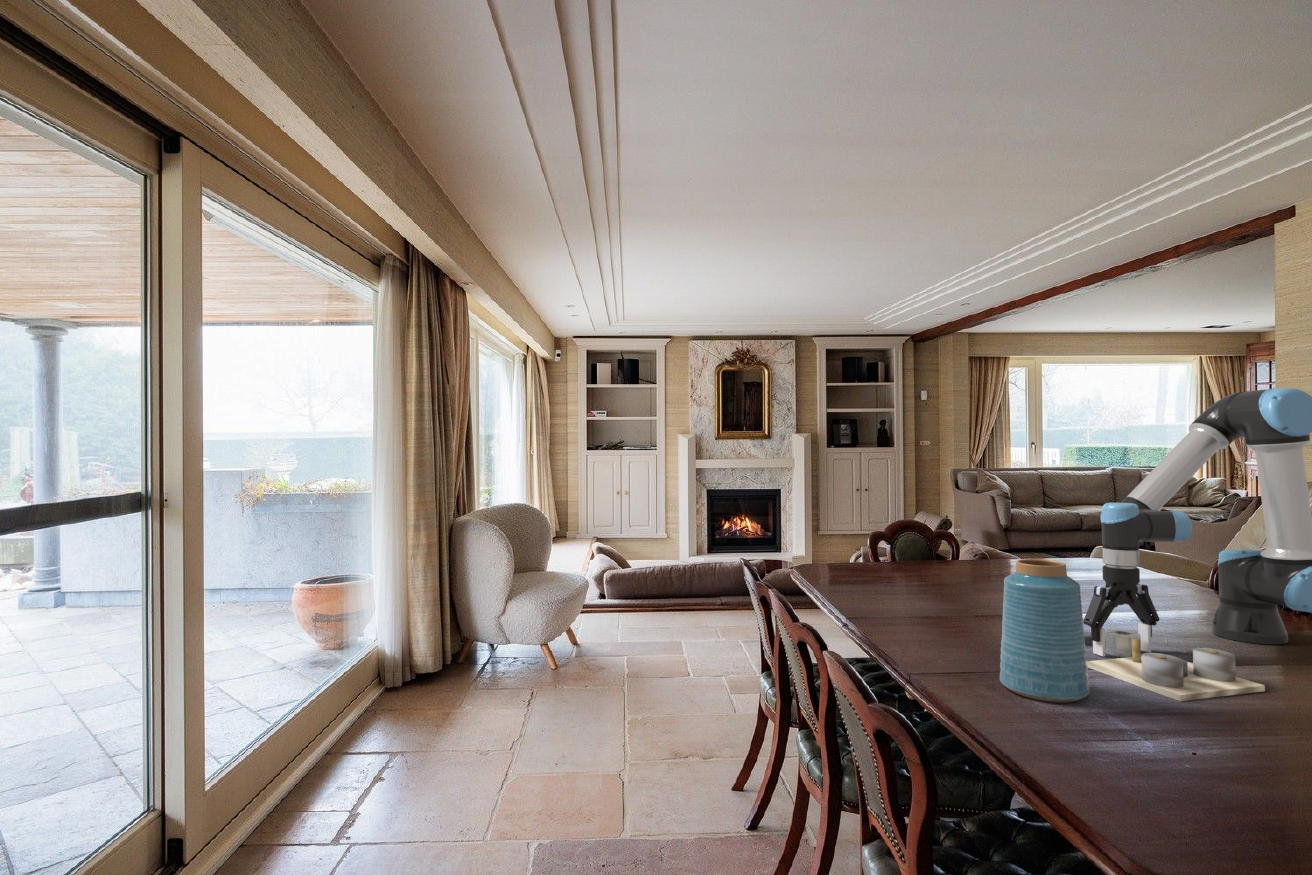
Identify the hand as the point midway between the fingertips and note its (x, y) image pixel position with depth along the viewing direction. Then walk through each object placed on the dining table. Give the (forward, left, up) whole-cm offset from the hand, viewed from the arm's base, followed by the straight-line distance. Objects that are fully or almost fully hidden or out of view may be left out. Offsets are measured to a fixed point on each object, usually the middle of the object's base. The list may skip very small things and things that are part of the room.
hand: (1122, 652), depth 165 cm
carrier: (+6, +17, 0) cm, 18 cm away
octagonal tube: (0, 0, 0) cm, 0 cm away
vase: (+38, +16, 0) cm, 41 cm away
